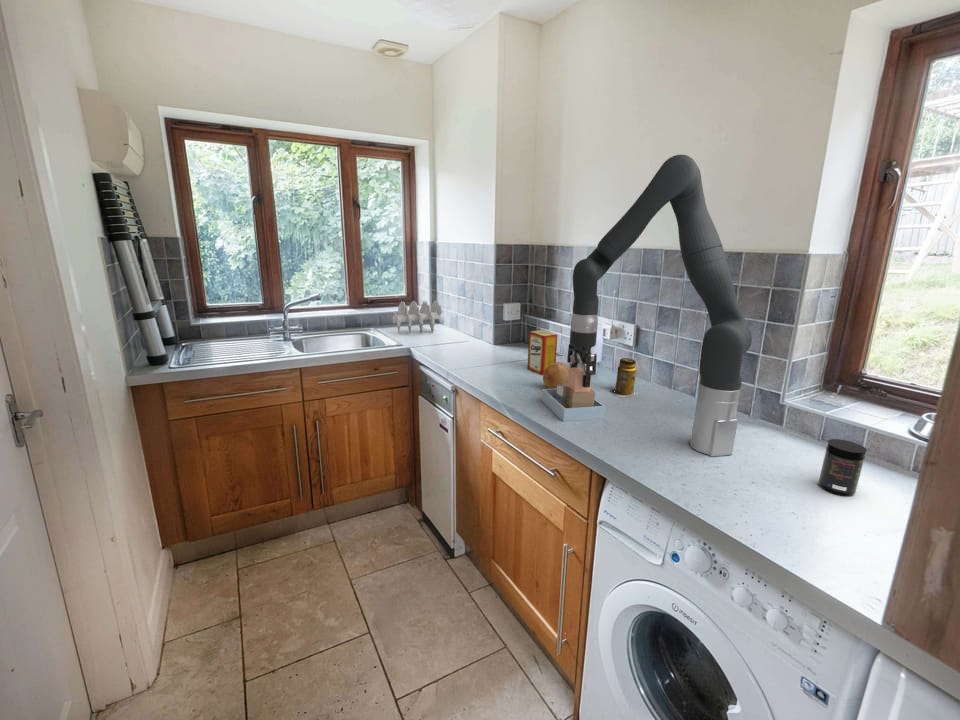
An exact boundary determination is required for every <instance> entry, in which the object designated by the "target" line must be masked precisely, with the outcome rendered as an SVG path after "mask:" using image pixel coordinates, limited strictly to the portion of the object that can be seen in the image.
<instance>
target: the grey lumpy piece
mask: <svg viewBox="0 0 960 720" xmlns="http://www.w3.org/2000/svg"><path fill="white" fill-rule="evenodd" d="M442 314H443V308H442V304H440V303H439V300H434V302H432V304H431V305H430V304H428V301H427V300H425V301H422V303H421V305H420V307H419V306H418V304H417V301H415V300H412V302H411V303H410V304H409V308H408V306H406V303H405V301H400V303H399V305H398V308H397V312H396V311H394V315H392V323H393V324H396V327H397V332H398V334H399V335H401V326H402V325H403V324H404V323H407V327H408V332H409V333H410V334H412V325H413V324H414V322H419V323H418V324H419V325H418V328H419V331H420V333H421V334H424V333H423V332H424V326H423V325H425V321H429V328H430V331H431V333H434V331H435V324H436V322H435V321H436V320H440V318H441V317H440V316H441V315H442Z"/></svg>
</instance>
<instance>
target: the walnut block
mask: <svg viewBox="0 0 960 720" xmlns="http://www.w3.org/2000/svg"><path fill="white" fill-rule="evenodd" d="M594 399H596V392H595V391H594V390H593V389H591V391H587V392H574V391H573V390H571V389H570V388H569V387H568V386H563V398H562V406H563V407H564V408H579V407H593V406H594Z"/></svg>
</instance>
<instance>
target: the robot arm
mask: <svg viewBox="0 0 960 720" xmlns="http://www.w3.org/2000/svg"><path fill="white" fill-rule="evenodd" d="M701 174H702V173H701V171H700V168H699V166H698V164H697V163H696V161H695V160H694V159H693V158H692V157H691V156H689V155H687V154H676V155H673V156H671V157H669V158H668V159H666V160H665V161H664V162H663V163H662V165H661V166H660V168H659V169H658V170H657V171H656V173H655V174H654V176H653V178H651V180H650V182H649V183H648V185H647V186H646V187H645V189H644V190H643V191H642V192H641V194H640V195H639V196H638V197H637V199H636V200H635V202H634V203H633V204H632V205H631V206H630V208H629V209H628V210H627V211H626V212H625V213H624V215H622V216H621V217H620V219H619V220H618V221H617V222H616V223H615V225H613V226H612V227H611V228H610V229H609V230H608V232H607V233H605V234H604V236H603V237H602V238H601V239H600V241H598V243H597V246H596V247H595V249H594V250H593V251H591V253H590V254H589V255H588V256H587V257H586V258H582V259H581V260H579V261H578V262H577V263H576V264H575V266H574V267H573V271H572V289H573V291H572V292H573V304H572V316H571V321H570V329H569V330H570V332H569V344H568V349H567V357H566V361H567V362H566V363H569V367H570V368H575V367H578V365H580V368H582V371H583V379H582V387H584V388H586V387H590V380H591V375H592V376H594V375H596V374H597V373H596V360H597V355H596V354H591V348H592V347H594V346H595V345H596V338H597V331H598V324H599V321H598V320H599V319H598V318H599V317H598V316H599V305H600V302H599V300H600V299H599V295H598V292H597V291H598V283H599V282H598V281H600V280H601V279H602V278H603V276H604V275H605V274H606V273H607V272H608V271H609V270H610V269H611V267H612V266H613V265H614V264H615V263H616V261H617V260H618V259H620V258H621V256H623V255H624V254H625V252H627V251H628V250H629V249H630V247H632V246H633V244H634V243H635V242H636V241H637V240H638V239H639V238H640V236H641V235H642V233H643V232H644V230H645V229H646V228H647V227H648V225H649V223H650V222H651V221H652V219H653V218H654V217H655V216H656V215H657V214H658V213H659V212H660V210H662V208H664V207H665V206H666V205H667V204H668V203H670V205H671V208H672V210H673V213H674V216H675V219H676V222H677V223H676V224H677V229H678V230H677V231H678V232H677V233H678V242H679V249H680V253H681V259H682V261H683V265H684V269H685V272H686V275H687V277H688V279H689V282H690V283H691V285H692V287H693V288H694V290H695V291H696V293H697V294H698V296H699V297H700V299H701V300H702V301H703V304H704V306H705V308H706V310H707V311H706V312H707V315H708V316H709V323H710V328H709V329H708V330H707V331H706V332H705V333H704V336H703V340H702V343H701V349H700V359H699V369H698V371H699V372H698V373H699V376H700V377H699V386H698V391H697V397H696V402H695V403H696V404H695V410H694V417H693V423H692V424H693V425H692V429H691V430H692V431H691V436H690V437H691V438H690V443H689V444H690V447H691V448H692V449H694V450H695V451H697V452H699V453H702V454H705V455H708V456H710V457H720V456H721V457H722V456H727V455H728V456H729V455H730V456H731V455H733V451H734V445H735V441H736V440H735V439H736V434H737V430H738V423H739V420H738V419H737V418H736V416H737V411H738V410H737V409H738V404H739V400H740V395H741V388H742V384H743V378H742V376H741V367H742V361H743V356H744V355H745V353H747V352H748V351H749V350H750V348H751V346H752V343H753V336H752V331H751V329H750V326H749V324H748V322H747V320H746V318H745V315H744V313H743V311H742V308H741V306H740V304H739V301H738V298H737V294H736V291H735V286H734V281H733V278H732V275H731V272H730V267H729V265H728V261H727V260H728V259H727V257H726V253H725V250H724V246H723V243H722V241H721V238H720V236H719V235H720V234H719V233H718V231H717V228H716V226H715V224H714V222H713V220H712V216H711V215H710V213H709V211H708V207H707V206H708V205H707V203H706V199H705V194H704V189H703V181H702V175H701ZM592 366H593V368H591V367H592ZM585 368H586V369H585ZM591 381H592V380H591Z"/></svg>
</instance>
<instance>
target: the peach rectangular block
mask: <svg viewBox="0 0 960 720" xmlns="http://www.w3.org/2000/svg"><path fill="white" fill-rule="evenodd" d="M568 369H569V379H568V387H569V388H570V389H571V390H573V391H574V392H587V391H591V390H592V388H591V386H592V377H593V375H591V380H590V387H586V388H584V387H582V379H583V371H582V368H580V367H575V368H571V367H568ZM585 369H586V368H585Z"/></svg>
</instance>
